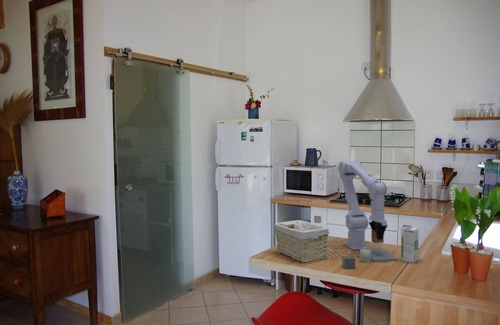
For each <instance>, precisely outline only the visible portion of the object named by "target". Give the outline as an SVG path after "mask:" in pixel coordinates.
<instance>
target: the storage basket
mask: <svg viewBox="0 0 500 325" xmlns="http://www.w3.org/2000/svg"><path fill="white" fill-rule="evenodd" d="M273 226H274V228H273V229H274V230H275V231H274V232H275V240H276V248H277V252H278V251H279V252H278V253H280V252H281V253H280V254H282V253H283V254H282V255H284V254H285V256H286V255H287V257H289V256H290V257H289V258H291V257H292V258H291V259H293V258H294V259H293V260H295V259H296V261H298V262H300V261H301V263H304V262H306V263H310V262H309V261H311V262H315V260H316V261H321V260H324V259H327V258H328V249H329V248H328V246H329V235H330V231H329V228H328V227H326V226H324V225H320V224H318V223H314V222H310V221H307V220H302V219H301V220H300V219H297V220H290V221H289V220H287V221H281V222H275V223H274V225H273ZM291 227H293V228H291Z"/></svg>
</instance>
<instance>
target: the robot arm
mask: <svg viewBox="0 0 500 325" xmlns="http://www.w3.org/2000/svg"><path fill="white" fill-rule="evenodd" d="M337 171H338V175H339V178H340V179H341V182H342V186H343V190H344V194H345V200H346V203H347V208H348V212H347V214H346V215H345V225H346V228H347V230H348V232H347V243H346V244H345V245H346V246H347V247H348V248H350V249H351V250H359V249H369V247H368V246H366V236H365V231H367V228H368V226H370V228H371V230H376V232H377V238H378V240H383V236H385V232H386V229H387V228H388V223H387V222H388V221H387V220H386V219H385V195H386V193H387V190H388V188H387V185H386V184H385V182H383V181H379V180H377V178H375V176H373V174H372V173H366V171H365V170H364V169H363V168H362V165H361V162H360V161H359V160H357V159H355V160H340V161H339V163H338V166H337ZM356 177H359V178H360V179H361V180H360V181H361V184H362V185H364V186H365V188H367V192H368V194H369V199H370V215H369V218H367V216H366V213H365V212H364V211H362V210H361V208H360V205H359V200H358V197H357V193H356V188H355V184H354V181H353V180H354V179H355V178H356Z"/></svg>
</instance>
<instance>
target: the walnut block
mask: <svg viewBox="0 0 500 325" xmlns="http://www.w3.org/2000/svg"><path fill="white" fill-rule="evenodd" d="M384 236H385V235H384ZM384 236H383V240H378V238H377V232H376V230H372V229H371V242H373V243H374V244H380V243H381V244H383V243H384Z"/></svg>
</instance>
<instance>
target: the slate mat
mask: <svg viewBox="0 0 500 325" xmlns="http://www.w3.org/2000/svg"><path fill="white" fill-rule="evenodd" d="M369 249H370V250H371V262H374V263H383V262H394V261H395V262H397V261H399V258H398V257H396V256H395V255H394V254H391V253H389V252H388V251H386V250H384V249H383V248H381V247H379V248H378V247H375V248H369ZM360 250H361V249H358V252H359V253H360Z"/></svg>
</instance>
